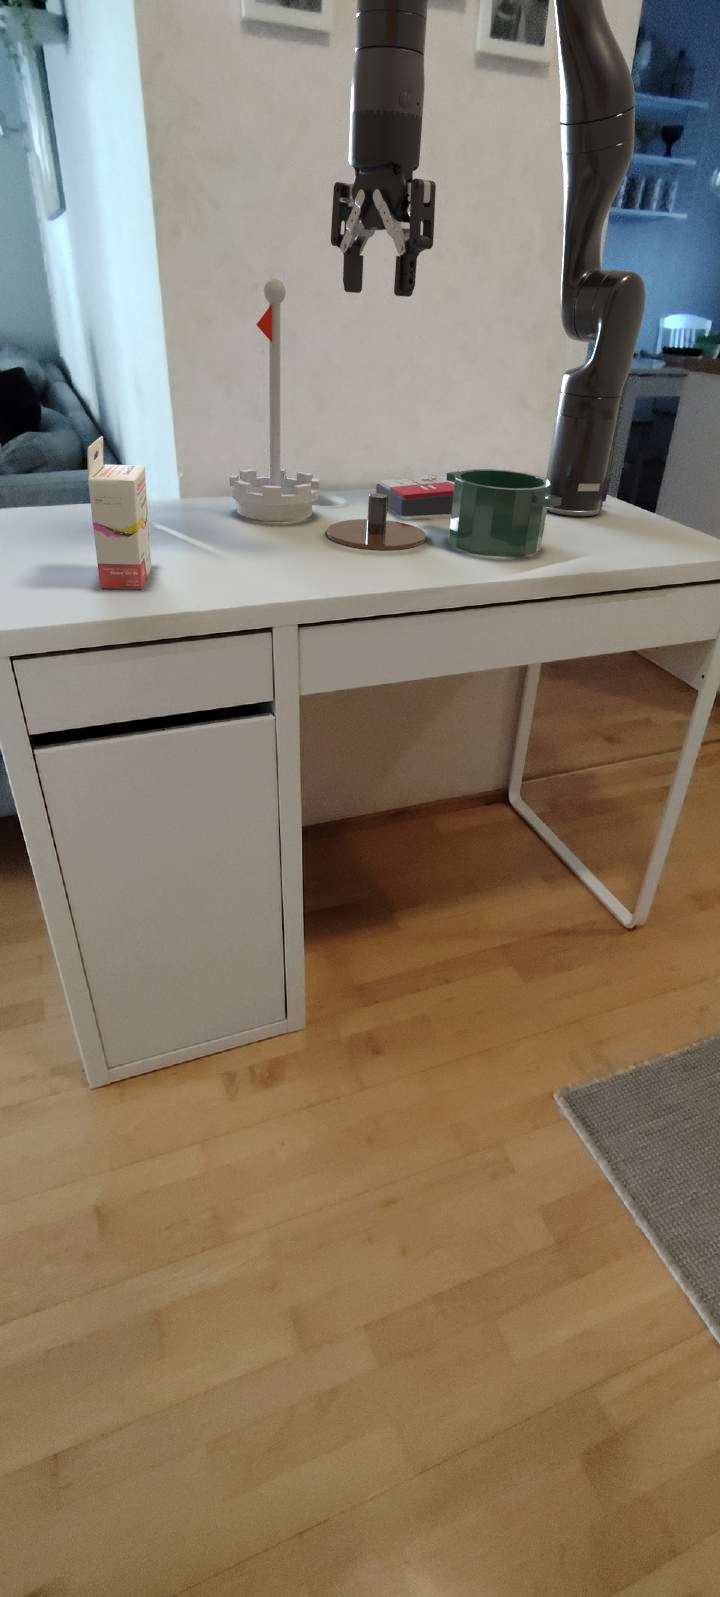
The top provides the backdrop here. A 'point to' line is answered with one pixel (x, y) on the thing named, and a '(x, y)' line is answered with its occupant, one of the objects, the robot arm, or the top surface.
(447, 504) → the grey red flat block
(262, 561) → the top surface
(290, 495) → the flag stand
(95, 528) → the ink cartridge box
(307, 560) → the top surface
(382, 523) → the lid
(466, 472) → the pot
